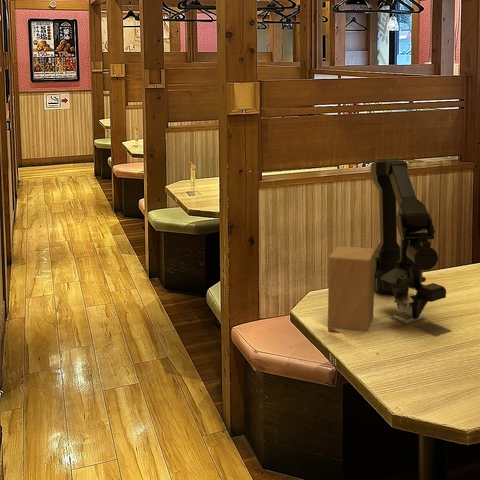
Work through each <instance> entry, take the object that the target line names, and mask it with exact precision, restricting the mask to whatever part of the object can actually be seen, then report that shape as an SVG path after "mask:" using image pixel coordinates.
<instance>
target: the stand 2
mask: <svg viewBox="0 0 480 480" xmlns="http://www.w3.org/2000/svg"><path fill="white" fill-rule="evenodd" d="M413 328H415V329H417V330H419V331H421V332H424V333H427V334H429V335H431V336H433V337H436V338H437V337H439V336H442V335H444V334H447V333H451V332H452V330H451V329H449V328H446V327H444V326H442V325H439V324H436V323H434V322H432V321H425V322H424V323H421V324H418V325H417V324H416V325H414V326H413Z"/></svg>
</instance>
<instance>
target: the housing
mask: <svg viewBox="0 0 480 480" xmlns="http://www.w3.org/2000/svg"><path fill="white" fill-rule="evenodd" d="M413 295H415V294H413V293H408V295H405V296H401V297H398V298H395V297H394V302H393V303H395V304H396V305H397V304H399V309H398V312H397V313H394V314H393V317H394V319H396V320H398V321H401V322H403V323H405V324H408V323H411V322H415V321H418V320H421V319H423V317H424V315H425V314H423V313H421V314H420V316H419V317H418V319H414V315H413V308H414V301H413V300H412V298H411V297H410V296H413ZM424 318H425V317H424Z"/></svg>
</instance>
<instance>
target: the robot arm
mask: <svg viewBox="0 0 480 480" xmlns="http://www.w3.org/2000/svg"><path fill="white" fill-rule="evenodd" d="M370 174H371V176H372V182H373V184H374V185H375V187H376V188H377V189H378V201H379V203H378V205H379V206H378V207H379V210H378V211H379V243H378V245H377V247H376V248H375V278H374V292H375V293H376V294H379V295H382V296H383V295H384V296H390V297H394V299H395V298H398V297H401V296H405V295H408V294H409V290H410V289H412V290H414V291H416V293H415V294H414V295H413V296H410V297H411V298H412V300H413V301H414V308H413V315H414V319H418V317H419V316H420V314H422V313H423V310H424V308H425V307H426V306H427V303H428V302H429V303H430V302H431V303H433V302H435V301H439V300H442V299H445V298H447V289H446V287H445V286H443V285H442V284H441V285H440V284H437V283H435V282H431V283H429V284H423V283H425V282H426V279H427V278H426V277H425V276H423V271H429V270H433V268H434V267H435V266H436V265H437V263H438V260H439V256H438V253H437V251H436V250H435V249H434V248H433V247H432V246H431V241H430V240H434V239H435V233H436V231H435V227H434V223H433V219H432V217H431V214H430V213H429V212H428V210H427V207H426V205H425V204H424V202H422V201H420V200H419V199H418V198H417V196H416V193H415V192H416V191H415V190H414V187H413V184H412V180H411V177H410V174H409V172H408V163H407V161H406V160H404V159H400V158H399V157H385V158H384V157H383V158H382V157H381V158H375V159H374V162H371V164H370ZM397 205H398V209H397ZM398 234H399V237H400V242H399V243H400V245H399V243H398ZM396 306H397V309H398V310H399V304H397V303H396Z"/></svg>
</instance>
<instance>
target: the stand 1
mask: <svg viewBox="0 0 480 480" xmlns="http://www.w3.org/2000/svg"><path fill="white" fill-rule="evenodd" d="M390 320H393V321H396V322H398V323H400V324H401V325H404V326H410V325H413V324H416V323H420V322H423V321H425V320H427V318H425V317H423V319H421V320H418V321H415V322H411V323H408V324H405V323H403V322H401V321H398V320H396V319H394V316H392V317H390Z"/></svg>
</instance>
